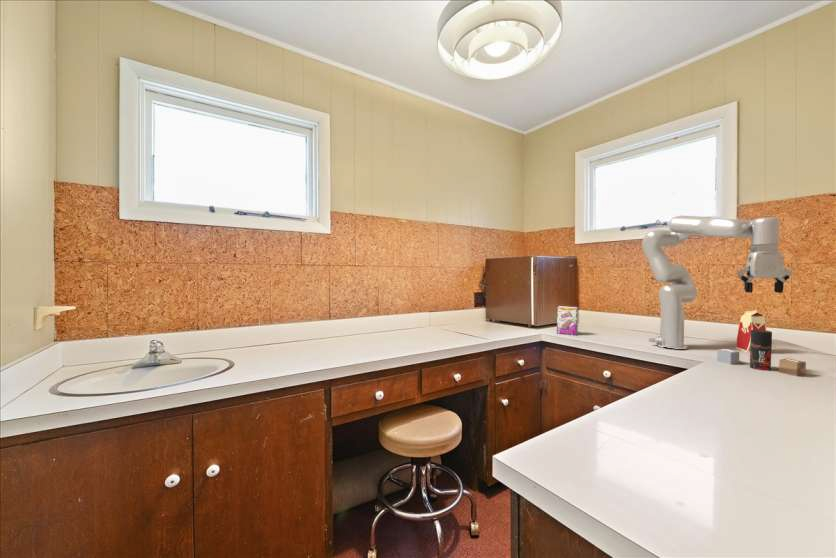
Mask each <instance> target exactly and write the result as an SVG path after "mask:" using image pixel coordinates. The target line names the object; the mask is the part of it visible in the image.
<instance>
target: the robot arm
mask: <svg viewBox="0 0 836 558" xmlns="http://www.w3.org/2000/svg"><path fill="white" fill-rule="evenodd" d="M667 225H668V228H669V230H668V229H667V230H666V229H665V230H664V229H658V230H657V229H656V230H652V231H649V232H647V233H646V234H645V235H644V237H643V239H642V242H641V248H642V251H643V254H644V256H645V258H646V259H647V262H648V264H649V266H650V269H651V271H652V274H653V276H654V278H655V280H656V281H657V282H658V283H661V284H666V285H664V286H662V287H660V289H659V291H658V300H659V303H660V324H659V325H660V327H659V328H660V330H659V331H660V332H659V336H658V335H657V337H656V338H654V337H649V338H648V341H649V343H656V344H657V345H660V346H664V347H669V348H677V349H685V350H687V349H686V348H689V347H688V345H686V344H685V309H684V306H683V304H685V303H691V302H693V301H695V300H696V298H697V297H698V290H697V287H696V285H695V283H694V281H693V279H692V277H691V275H690V272H689V271H688V269H687V268H686V267H685V266H683V265H682V264H679V263H678V264H676V263H675V264H672V262H671V260H670V259H669V256H668V254H667V253H666V252H665V250H663V249H662V248H664V247H667V248H669V247H670V248H671V247H675V246H678V245H680V244H682V243H683V242H684V241H685V240H687V239H689V238H690V237H692V236H693V235H695V236H703V237H704V236H709V237H717V238H725V239H727V238H728V239H729V238H730V239H749V238H750V239H751V246H748V247H747V250H748V251H750V252H749V254H748V257H747V261H746V266H745V268H742V269H740V270H738V271H736V274H737V276H738V278H739V279H740V280H742V282H743V283H744V288H743V289H744V292H745V293H753V289H754V288H753V286H754V285H753V284H754V283H753V282H752V281H754V280H755V278H756V279H773V280H774V281H775V282H774V288H773V289H774V293H780V294H782V293H783V292H784V283H786V281H787V280H789V279H790V277H791V275H792V274H793V271H792V270H790V269H789V268H785V264H784V257H783V254H782V252H780V250H779V249H780V248H779V246H780V245H779V242H780V219H779V218H778V217H775V216H772V217H769V216H767V217H759V218H755V219H733V218H731V219H730V218H729V219H728V218H712V217H710V216H701V215H699V216H695V215H694V216H693V215H676V216H673V217H672V218H671V219H670V220H669V222H668V224H667ZM745 273H746V274H745ZM669 283H670V284H669ZM657 345H656V346H657Z"/></svg>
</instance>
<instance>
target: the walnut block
mask: <svg viewBox="0 0 836 558" xmlns="http://www.w3.org/2000/svg"><path fill="white" fill-rule="evenodd" d="M806 365H807V361H802V360H798V359H793V358H790V357H789V358H782V359H779V364H778V373H781V374H785V375H789V376H794V377H800V376H801V375H802V376H806V368H807V367H806ZM802 376H801V377H802Z"/></svg>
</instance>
